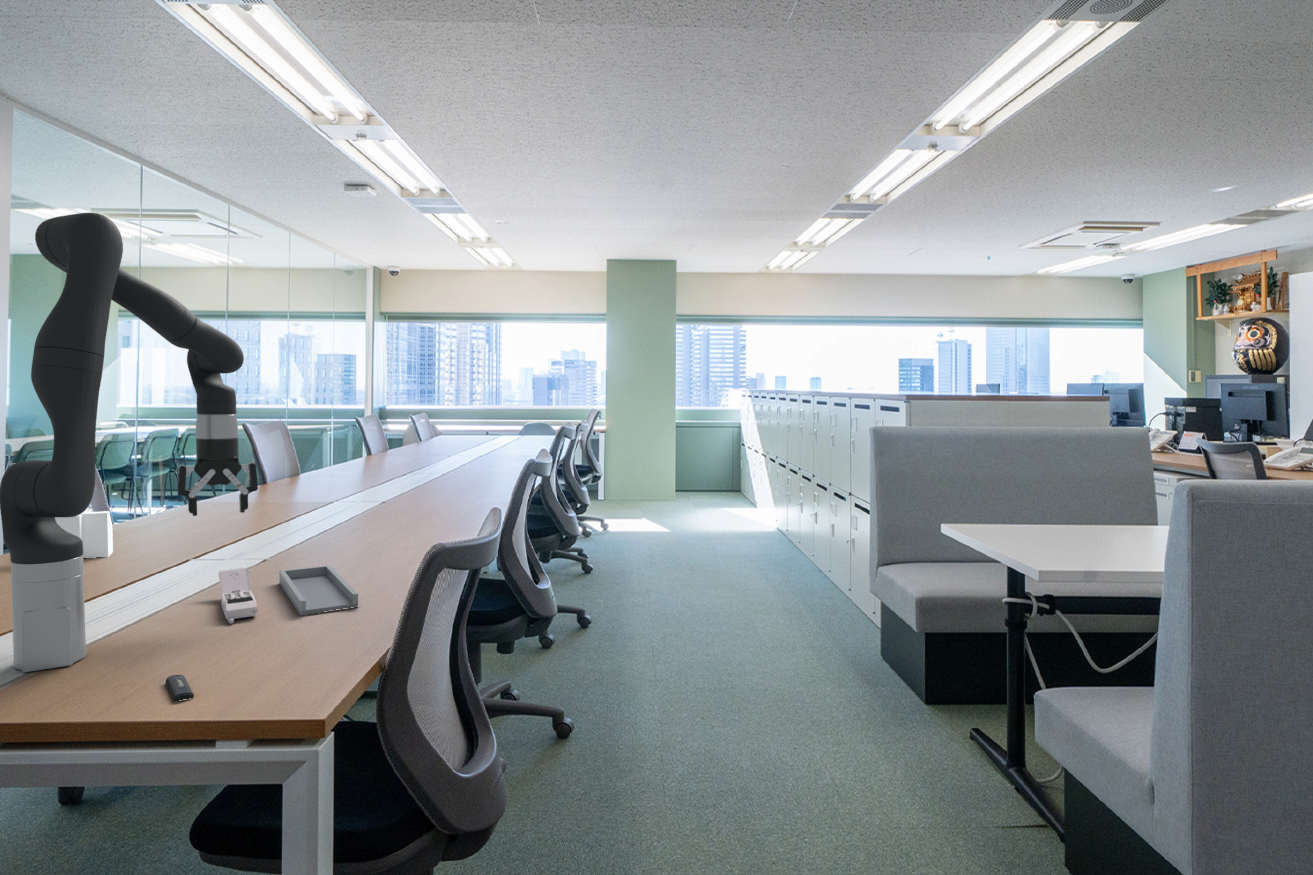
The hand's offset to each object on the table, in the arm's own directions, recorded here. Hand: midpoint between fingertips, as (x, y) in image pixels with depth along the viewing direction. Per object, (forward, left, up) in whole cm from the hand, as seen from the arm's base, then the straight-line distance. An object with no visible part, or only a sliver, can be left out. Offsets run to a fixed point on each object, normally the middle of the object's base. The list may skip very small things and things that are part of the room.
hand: (219, 513), depth 154 cm
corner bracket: (+69, +27, -20) cm, 76 cm away
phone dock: (-1, -18, -19) cm, 27 cm away
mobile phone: (-3, -3, -20) cm, 20 cm away
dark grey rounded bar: (-47, +8, -20) cm, 52 cm away
